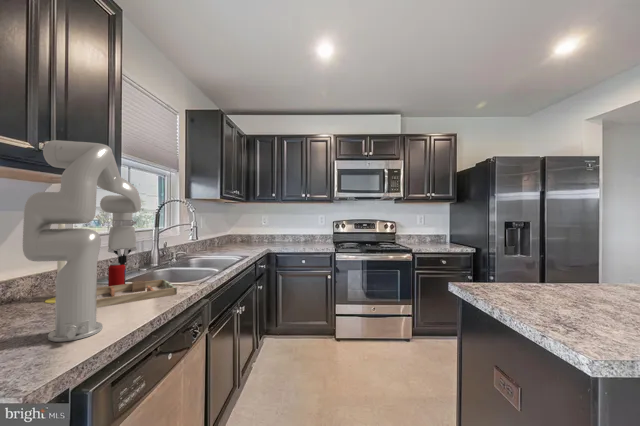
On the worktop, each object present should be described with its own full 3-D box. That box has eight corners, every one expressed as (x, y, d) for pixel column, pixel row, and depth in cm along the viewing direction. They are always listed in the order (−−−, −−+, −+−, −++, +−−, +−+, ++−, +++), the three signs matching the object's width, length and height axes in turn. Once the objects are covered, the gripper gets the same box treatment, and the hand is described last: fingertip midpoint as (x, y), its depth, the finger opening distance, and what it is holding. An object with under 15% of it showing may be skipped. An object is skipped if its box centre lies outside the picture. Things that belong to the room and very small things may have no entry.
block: (145, 291, 136) (145, 282, 136) (132, 292, 133) (132, 284, 133) (144, 289, 140) (144, 280, 140) (132, 290, 137) (132, 282, 137)
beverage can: (128, 287, 143) (128, 262, 143) (117, 290, 136) (118, 264, 136) (116, 286, 143) (116, 262, 144) (104, 290, 137) (104, 264, 137)
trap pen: (176, 294, 130) (176, 287, 130) (91, 308, 111) (91, 300, 111) (164, 285, 147) (164, 279, 147) (88, 295, 127) (88, 288, 127)
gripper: (140, 223, 139) (140, 261, 139) (101, 224, 130) (101, 265, 130) (143, 224, 134) (143, 263, 134) (102, 224, 124) (102, 267, 124)
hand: (122, 264), depth 132 cm, fingers closed
